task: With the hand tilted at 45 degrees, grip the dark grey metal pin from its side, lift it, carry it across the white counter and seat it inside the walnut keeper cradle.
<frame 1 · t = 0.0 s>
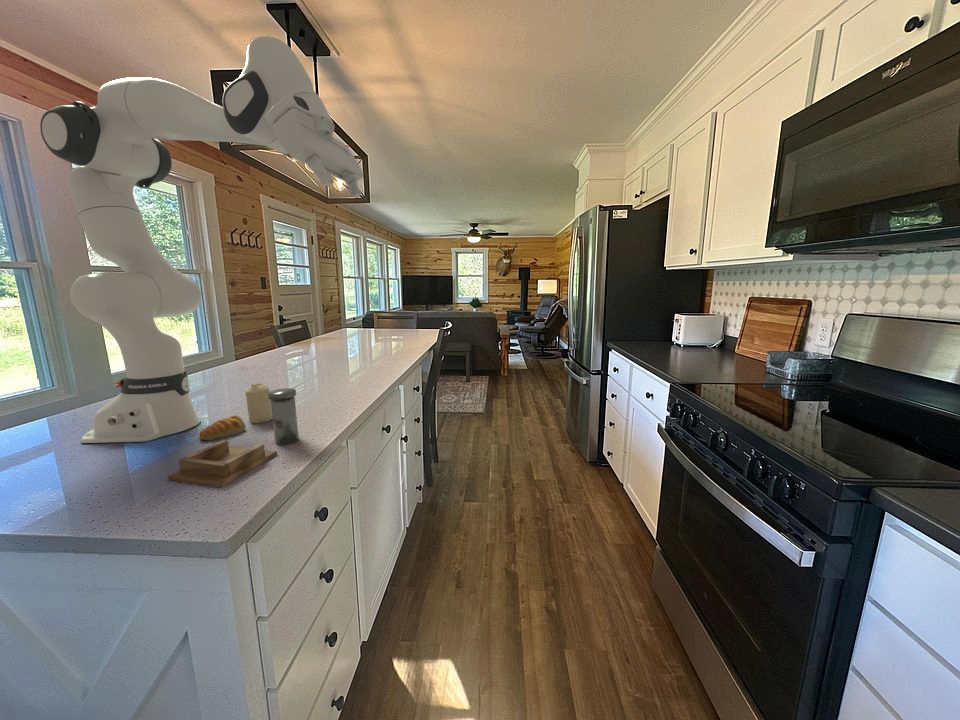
hand: (343, 190, 74), 54 cm above the countertop, tool tilted 30°, fingers open, 8 cm apart
keeper cradle: (226, 466, 77), on the countertop
pastry: (225, 434, 94), on the countertop
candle: (261, 420, 103), on the countertop
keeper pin: (287, 440, 90), on the countertop
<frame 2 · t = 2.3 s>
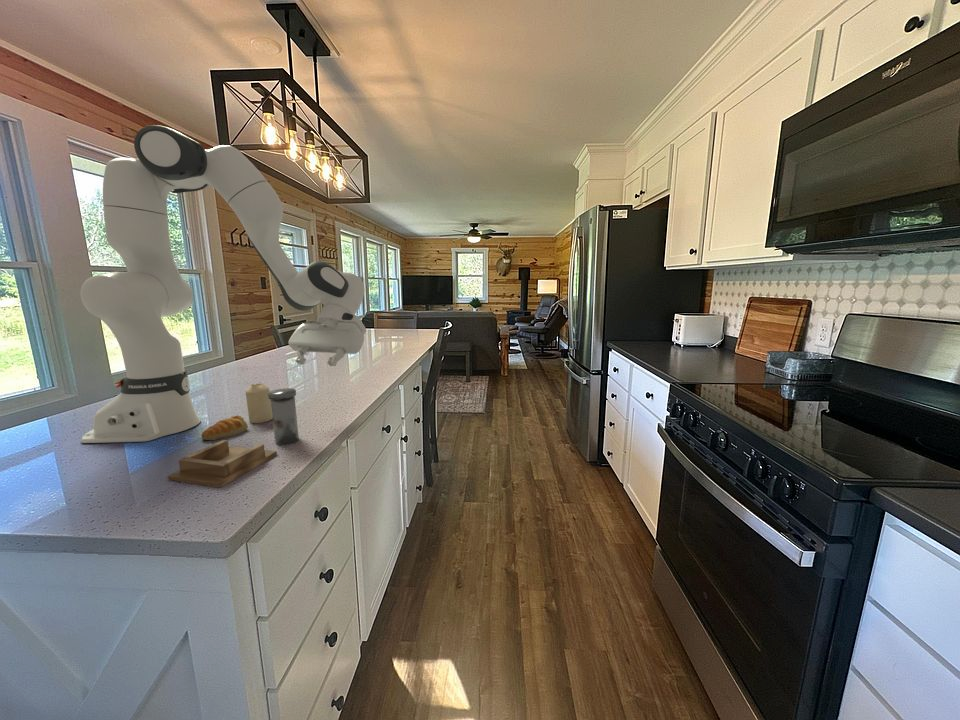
hand: (315, 364, 98), 16 cm above the countertop, tool tilted 45°, fingers open, 8 cm apart
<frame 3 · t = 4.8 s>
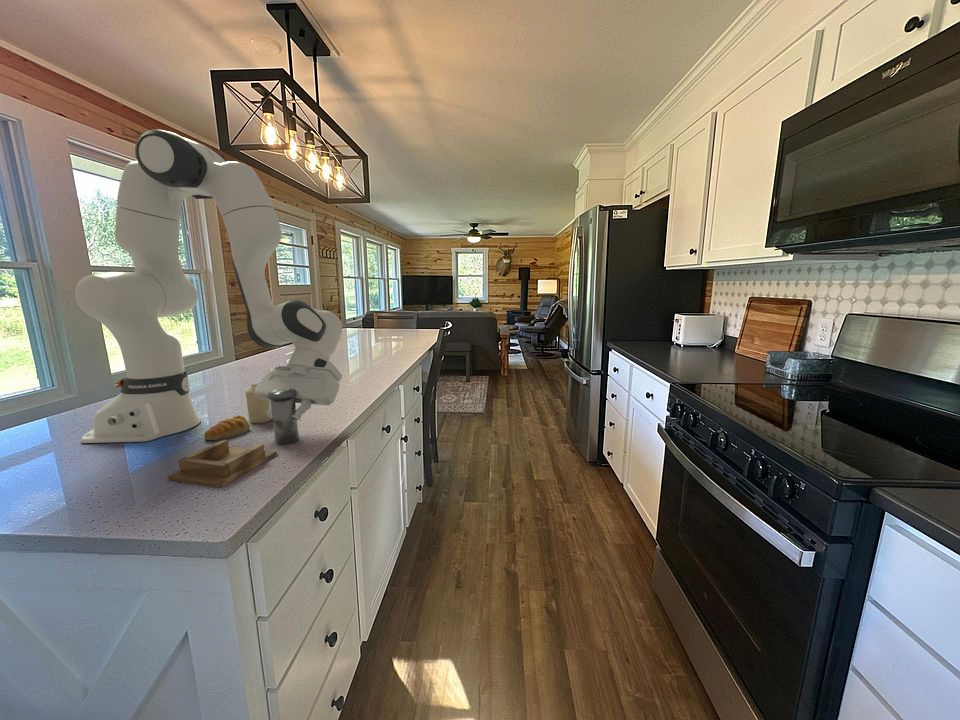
hand: (282, 417, 88), 6 cm above the countertop, tool tilted 45°, fingers closed on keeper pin, 5 cm apart
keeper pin: (287, 440, 90), on the countertop, touching gripper
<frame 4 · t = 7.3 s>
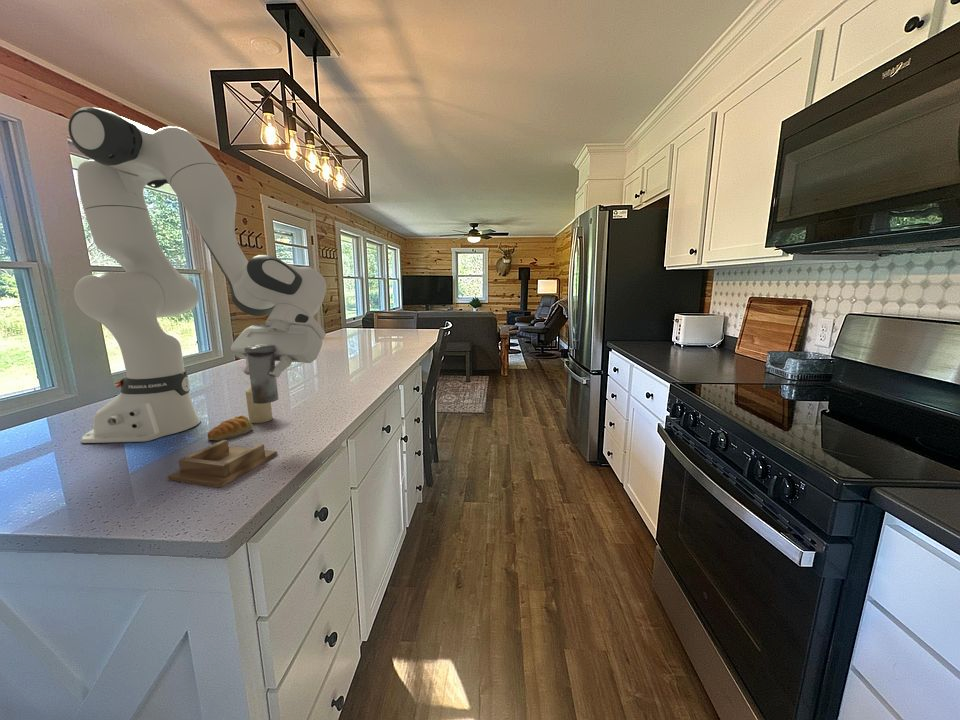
hand: (260, 374, 82), 17 cm above the countertop, tool tilted 45°, fingers closed on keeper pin, 5 cm apart
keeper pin: (265, 400, 84), point 11 cm above the countertop, touching gripper
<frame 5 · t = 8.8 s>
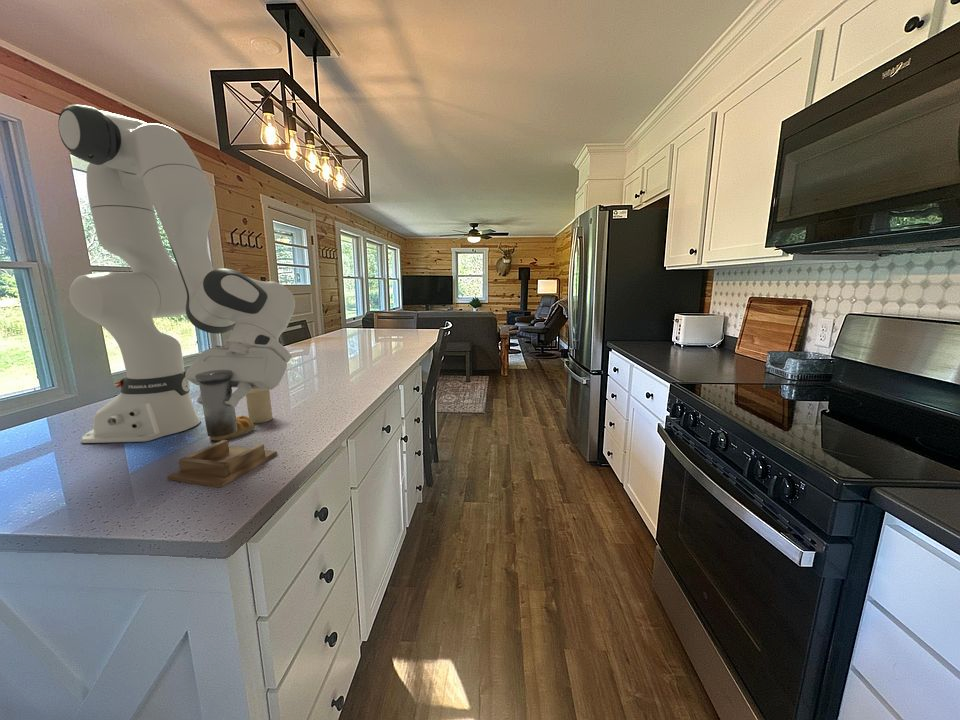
hand: (215, 404, 74), 13 cm above the countertop, tool tilted 45°, fingers closed on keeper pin, 5 cm apart
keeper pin: (222, 431, 75), point 7 cm above the countertop, touching gripper
when the fingers open (8 cm above the countertop, at t = 10.1 s): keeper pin drops 1 cm, resting on keeper cradle.
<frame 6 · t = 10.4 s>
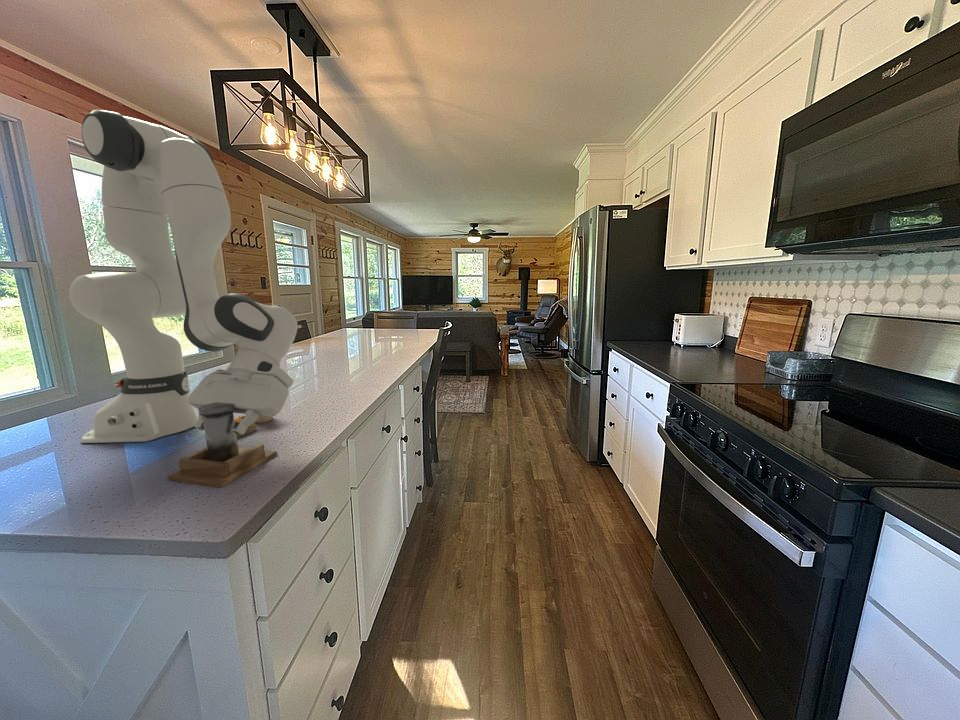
hand: (218, 431, 75), 8 cm above the countertop, tool tilted 45°, fingers open, 8 cm apart
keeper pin: (225, 462, 77), point 1 cm above the countertop, touching keeper cradle
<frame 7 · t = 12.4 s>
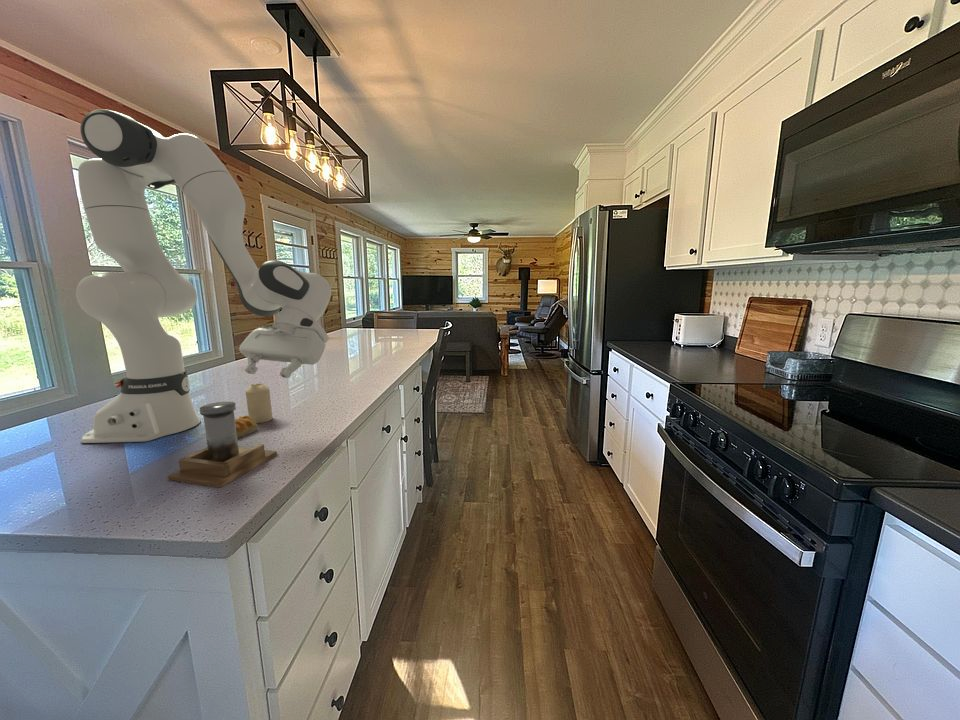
hand: (266, 374, 87), 16 cm above the countertop, tool tilted 45°, fingers open, 8 cm apart
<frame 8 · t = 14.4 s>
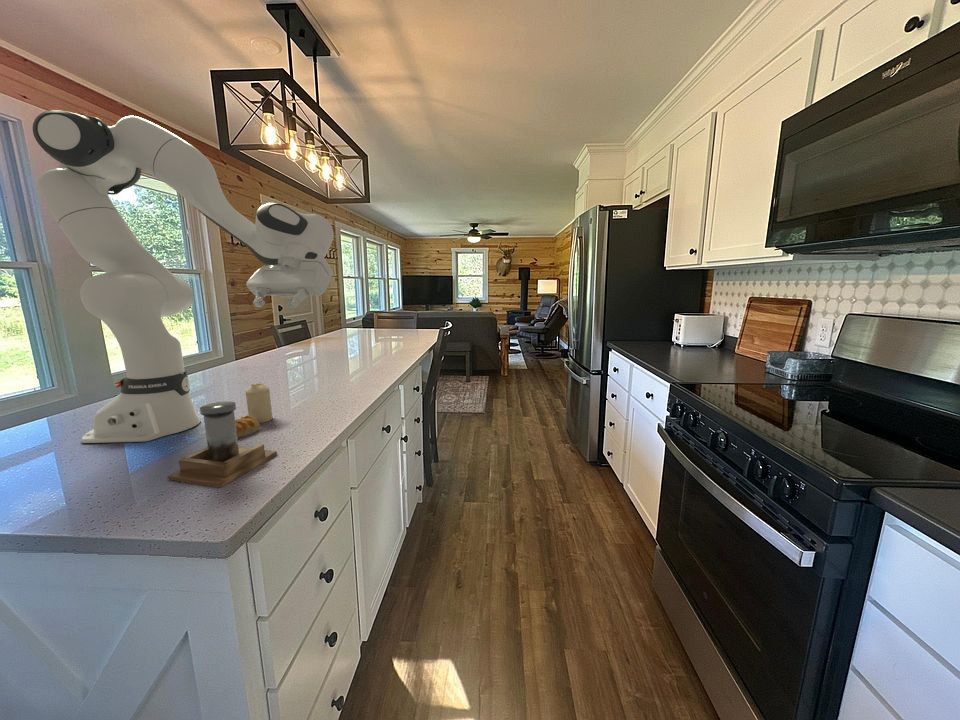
hand: (274, 305, 89), 31 cm above the countertop, tool tilted 45°, fingers open, 8 cm apart
at the end: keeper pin inside the target area on the keeper cradle (0.1 cm from its centre), point 0.8 cm above the keeper cradle's base; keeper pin tilted 1°; the gripper is holding nothing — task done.
